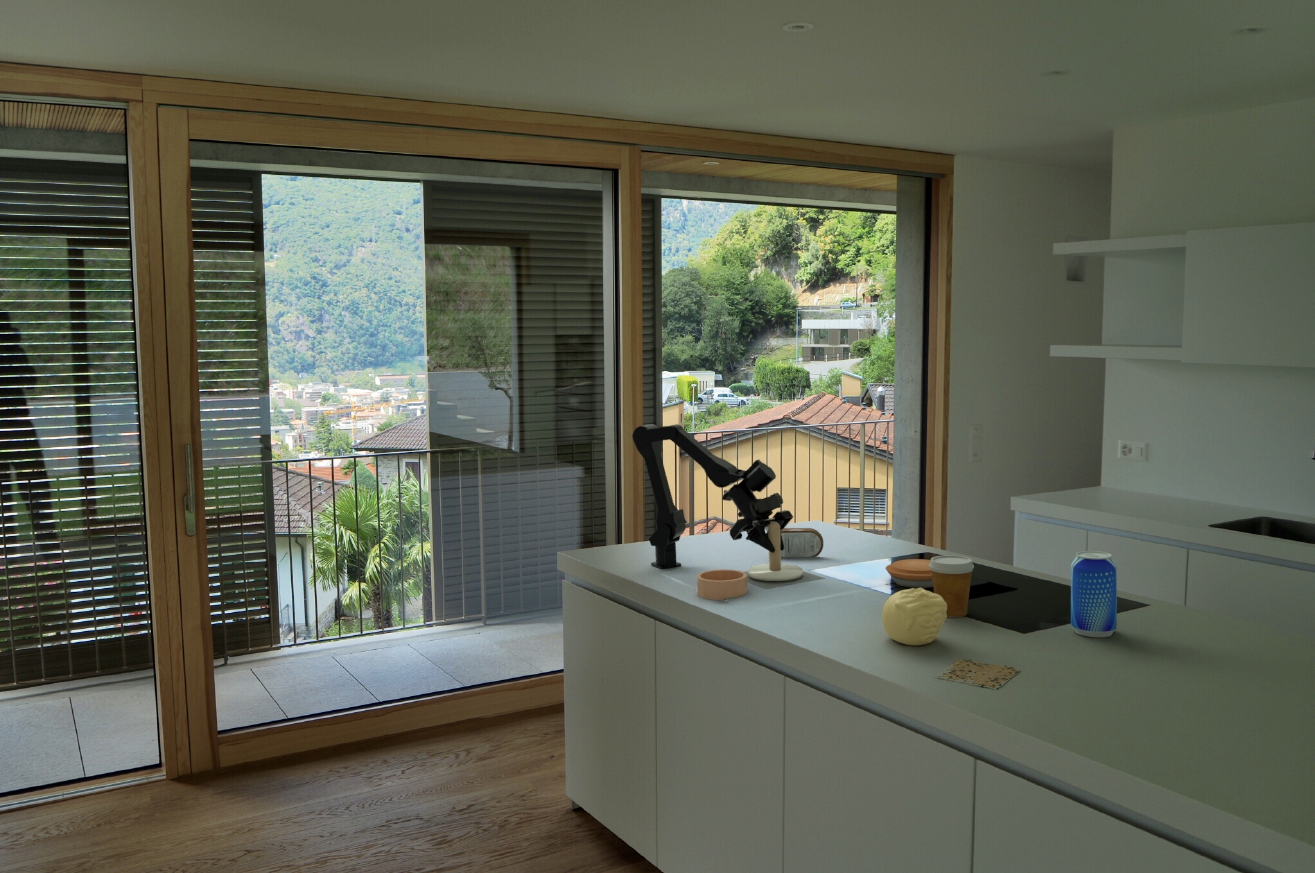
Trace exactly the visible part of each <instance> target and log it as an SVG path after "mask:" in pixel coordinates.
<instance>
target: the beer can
mask: <svg viewBox="0 0 1315 873" xmlns="http://www.w3.org/2000/svg"><path fill="white" fill-rule="evenodd" d="M1075 555H1076V556H1075V558H1074V559H1073V560H1072V562H1071V564H1070V626H1071V627H1072V629H1073V630H1074V632H1075V633H1076V634H1077V635H1080V636H1084V637H1089V638H1090V637H1091V638H1107V637H1111V636H1112V635H1113V633H1114V632H1115V631H1116V630H1117V626H1118V624H1117V620H1118V619H1117V617H1118V616H1117V614H1118V612H1117V609H1118V607H1117V603H1118V602H1117V597H1118V592H1117V591H1118V589H1117V588H1118V578H1117V577H1118V576H1117V575H1118V571H1117V570H1118V567H1117V564H1116V563H1115V561H1114V560H1113V558H1112V557H1113V556H1112V554H1111V553H1108V552H1105V551H1098V550H1097V551H1096V550H1083V551H1077V552H1076V553H1075Z"/></svg>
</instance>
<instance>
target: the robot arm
mask: <svg viewBox="0 0 1315 873" xmlns="http://www.w3.org/2000/svg"><path fill="white" fill-rule="evenodd" d="M631 437H632V441H633V443H634V445H635V448H636V451H637V452H638V453H639V454H640V455H641V458H643V460H644V463H645V464H644V465H645V467H646V471H647V474H648V478H649V479H648V480H649V482H650V487H651V491H652V493H653V498H654V502H655V506H656V516H655V517H656V518H655V527H656V531H654V532H653V533H652V534H651V536H650V537H649V538H648V541H649V544H650V546H651V547H654V548H655V552H654V554H655V561H654V562H653V561H652V562H650V565H652V566H654V567H657V568H658V569H667V568H673V567H679V566H680V567H681V566H682V563H681V562H679V561H677V547H676V545H677V544H676V542H680V539H681V536H682V535H683V534H684V533H685V531H686V524H687V520H686V517H685V514H684V513H685V512H684V509H683V508H681V509H678V508H677V507H676V505H675V504H674V500H673V497H672V496H673V495H672V492H671V489H670V485H669V481H668V476H667V474H666V470H665V466H664V462H663V457H662V449H663V441H671V442H672V443H673V444H675V445H676V446H677V447H678V448H679V449H680V450H682V451H683V452H684V453H685V454H687V455H688V457H690V458H691V459H692V460H693V461H694V462H696V463H697V464H698V465H699V466H700V467H701V468H702V469H703V470H704V473H705V475H706V477H707V478H708V479H709V481H710V482H712V484H713V485H714V486H715V487H717V488H721V489H722V488H727V487H730V486H731V485H732V486H731V487H730V488H729V489H728V490H726V489H724V490H723V495H722V498H721V499H722V501H727V502H731V501H732V502H733V504H734V505H735V507H736V509H738V510H737V511H738V513H737V516H738V517H739V519H737V520H736V521H735V523H734V524H732V527H731V528H730V529H729V536H730V537H731V539H732V541H737V540H741V539H742V537H743V533H744V532H746V535H747V536H746V537H745V540H746V541H750V542H752V543H754V544H756V545H758V546H760V547H761V548H763V549H765V550H767V552H769V551H770V552H772V553H774V552H775V548H774V546H773V544H772V543H771V541H770V539H769V533H768V526H769V524H770V523H771V522H777V523H778V524H779V525H780V543H781V551H783V550H784V544H783V539H782V535H781V530H782V529H784V528H787V525H788V524H789V523H790V522H791V520H792V519H794V516H793V514H792V512H791V511H790V510H786V509H785V510H780V511H776V513H775V514H774V510H776V509H780V508H782V505H783V503H784V500H783V497H782V496H781V495H780V494H779V492H776V493H773V494H770V495H769V496H766V497H763V498H757V496H756V495H755V492H756V493H757V492H758V493H761V492H762V491H763V490H764V489H766V488H767V487H768V486H769V485H770V484H771V483H772V482H773V481H775V479H776V478H777V475H776V473H775V471H774V470H773V469H772V468H771V466H769V465H767V464H766V463H764V462H762V461H761V460H760V459H756V460H755V461H753V463H752V464H751V466H749V467H748V469H746V470H743V469H739V468H738V467H737V466H735V465H734V464H732V462H729V461H728V460H726V459H724V458H721V457H719V456H717V455H715V454H713V453H712V452H711V451H710V450H708V449H707V448H706V447H705V446H704V445H703V444H702V443H701V442H699V441H698V440H697V439H696V438H695V437H693V436H692V435H691V434H690V433H689V432H688V431H687V430H685V428H684V427H683V426H682V425H681V424H677V423H676V424H675V423H674V424H672V425H664V426H662V425H661V426H657V425H656V424H653V423H650V424H643V425H639V426H637V427H636V428H635V429H634V430H633V432H632V436H631ZM739 481H740V482H739ZM737 482H738V483H737ZM773 514H774V515H773ZM772 515H773V516H772ZM770 516H772V517H770Z"/></svg>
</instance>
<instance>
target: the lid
mask: <svg viewBox="0 0 1315 873" xmlns="http://www.w3.org/2000/svg"><path fill="white" fill-rule="evenodd" d="M768 533H769V539H770V541H771V543H772V544H773V546H774V548H775V552H774V553H772V552H770V551H768V563H762V564H755V565H753V566H750V567H749V568H748V569H747V571H748V576H749V577H751V578H753V579H757V580H764V581H785V580H792V579H797V578H799V577H801V576H802V575H803V571H804V570H803V568H802V567H800V566H799V565H794V564H790V563H789V564H788V563H782V557H781V543H780V525H779V524H778V523H777V522H771V523H770V524H769V526H768Z"/></svg>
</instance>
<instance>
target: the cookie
mask: <svg viewBox="0 0 1315 873" xmlns="http://www.w3.org/2000/svg"><path fill="white" fill-rule="evenodd" d="M955 661H956V662H958V663H956V662H955ZM955 661H954V662H955V663H953V662H952V663H951V664H953V665H952V666H953V667H949V668H951V669H947V671H948V670H949V671H951V672H948V673H949V674H948V673H943V675H946V676H943V675H942V677H948V679H953V680H960V679H961V680H964V681H963V682H973V683H972V684H978V685H981V686H989V687H992V688H996V687H997V686H1001V684H1002V682H1004V681H1006V680H1008V679H1010V677H1013V675H1015V676H1016V675H1017V674H1016V673H1018V672H1019V673H1021V669H1017V668H1014V667H1013V666H1007V665H1000V664H993V663H992V664H991V663H986V662H981V661H976V660H973V659H966V658H963V659H961V658H958V659H956V660H955ZM972 671H973V672H972ZM974 671H975V672H974ZM964 673H965V674H964ZM969 673H971V674H969ZM973 673H975V674H973ZM1019 673H1018V674H1019ZM949 675H950V676H949ZM967 675H974V676H967ZM938 677H941V676H938ZM968 677H969V678H968ZM971 677H972V678H971ZM1013 678H1014V677H1013ZM965 679H966V680H968V679H969V680H974V681H966V680H965ZM1010 680H1011V679H1010ZM998 684H999V685H998ZM995 686H996V687H995Z"/></svg>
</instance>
